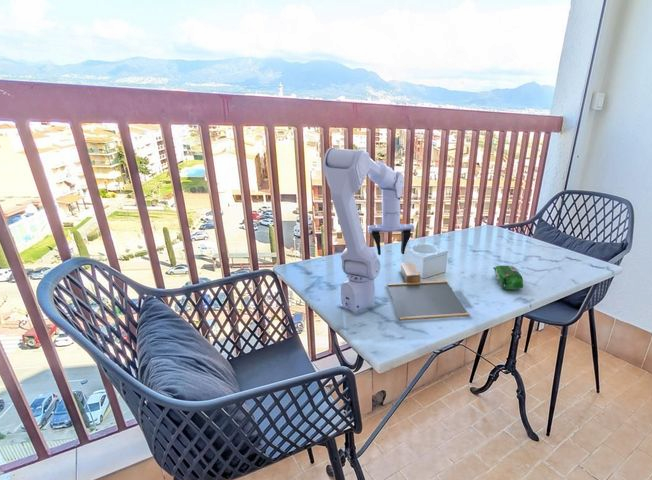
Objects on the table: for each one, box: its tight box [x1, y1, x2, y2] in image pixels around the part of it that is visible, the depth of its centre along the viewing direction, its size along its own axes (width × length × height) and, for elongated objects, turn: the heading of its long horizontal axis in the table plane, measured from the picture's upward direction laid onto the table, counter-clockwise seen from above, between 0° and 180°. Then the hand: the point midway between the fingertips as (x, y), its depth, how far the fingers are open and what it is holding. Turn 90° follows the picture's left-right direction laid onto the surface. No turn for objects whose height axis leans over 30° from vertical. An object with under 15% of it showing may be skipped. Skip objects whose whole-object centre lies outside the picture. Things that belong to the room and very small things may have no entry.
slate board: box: [387, 280, 471, 321], centre depth 122 cm, size 20×25×1 cm
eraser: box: [400, 262, 421, 283], centre depth 138 cm, size 4×12×4 cm, turn 10°
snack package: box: [493, 265, 524, 290], centre depth 134 cm, size 7×16×5 cm, turn 1°
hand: (390, 253), depth 129 cm, fingers open, 7 cm apart
